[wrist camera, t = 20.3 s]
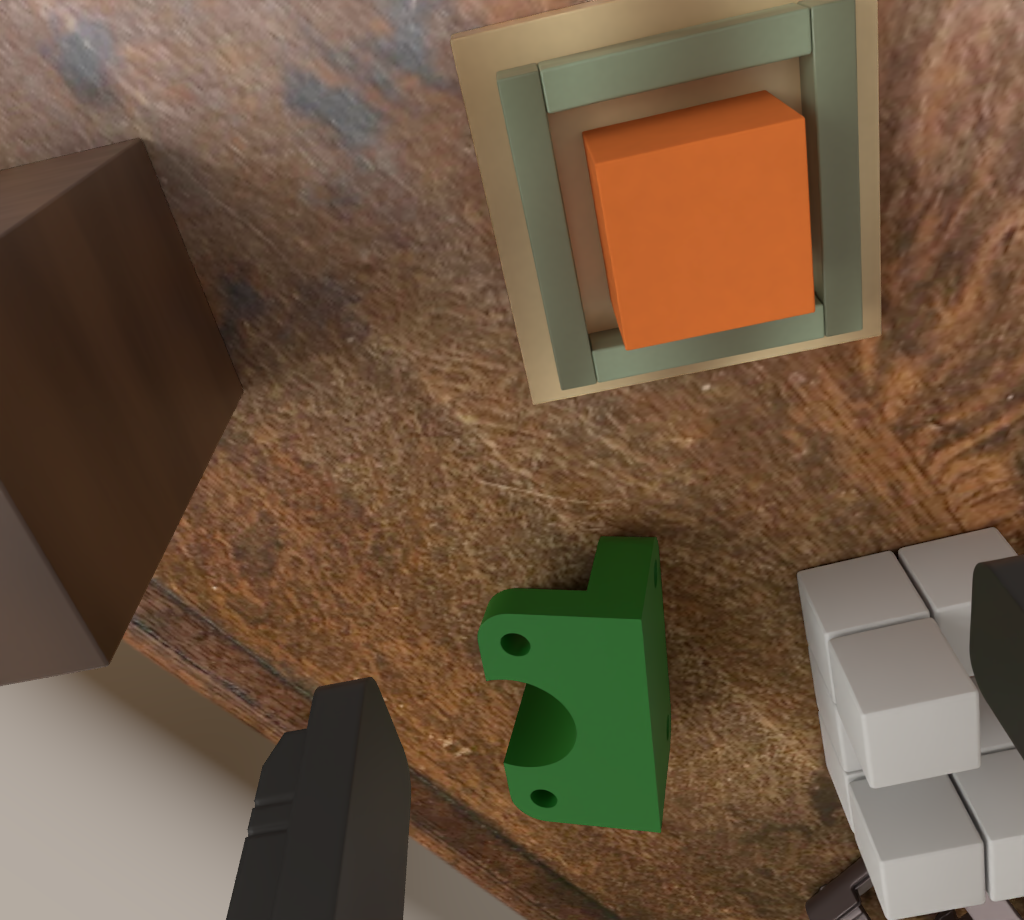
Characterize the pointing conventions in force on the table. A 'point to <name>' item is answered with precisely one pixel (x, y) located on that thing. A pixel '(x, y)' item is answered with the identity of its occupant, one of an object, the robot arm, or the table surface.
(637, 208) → the orange square block
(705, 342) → the square tray
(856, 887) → the tablet stand
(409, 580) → the table surface
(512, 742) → the clamp
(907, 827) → the gray cube puzzle piece
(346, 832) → the robot arm
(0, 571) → the stand
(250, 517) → the table surface
